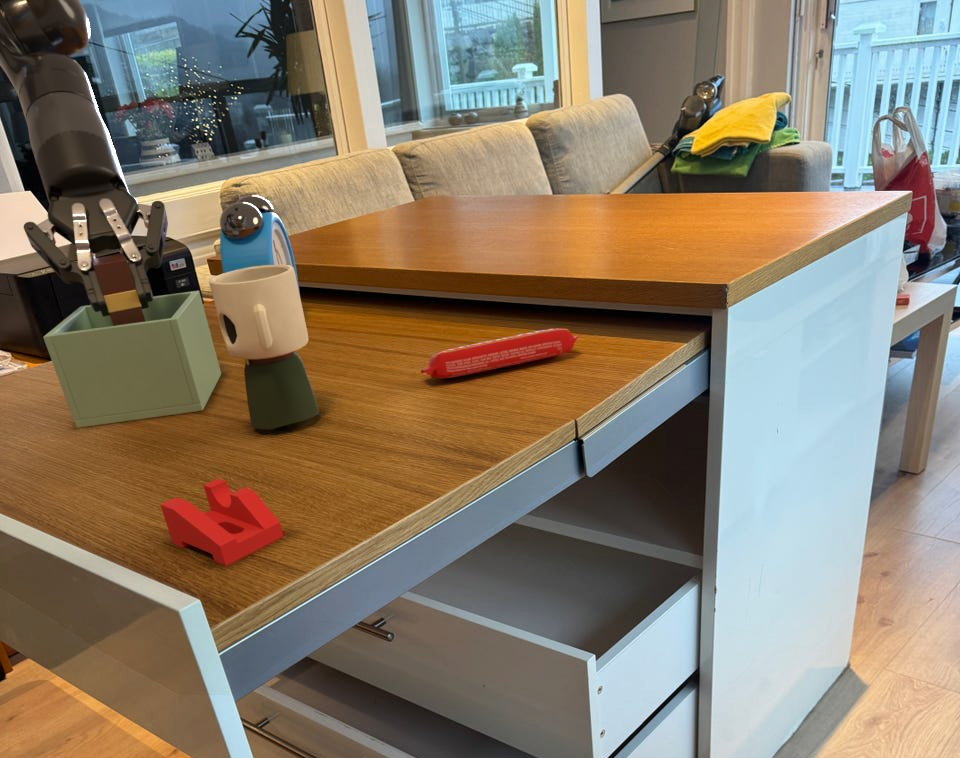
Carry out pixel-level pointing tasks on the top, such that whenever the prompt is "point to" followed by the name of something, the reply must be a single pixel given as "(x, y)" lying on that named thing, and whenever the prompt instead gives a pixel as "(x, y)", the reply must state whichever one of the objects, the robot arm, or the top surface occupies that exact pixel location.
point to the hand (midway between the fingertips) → (124, 306)
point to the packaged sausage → (500, 353)
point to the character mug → (267, 341)
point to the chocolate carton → (118, 289)
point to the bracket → (223, 523)
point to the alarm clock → (253, 236)
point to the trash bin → (135, 362)
